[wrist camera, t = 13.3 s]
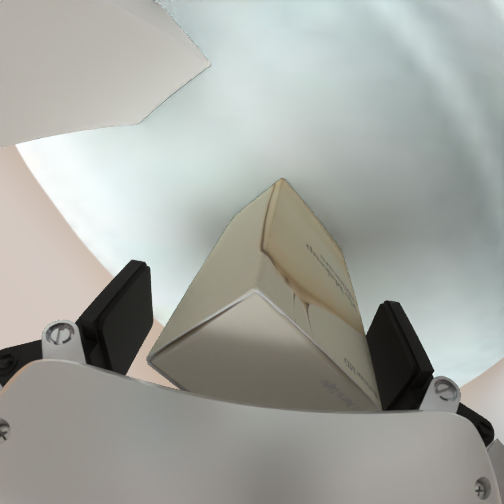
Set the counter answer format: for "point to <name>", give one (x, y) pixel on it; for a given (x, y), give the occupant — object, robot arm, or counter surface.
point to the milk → (87, 65)
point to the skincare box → (271, 316)
